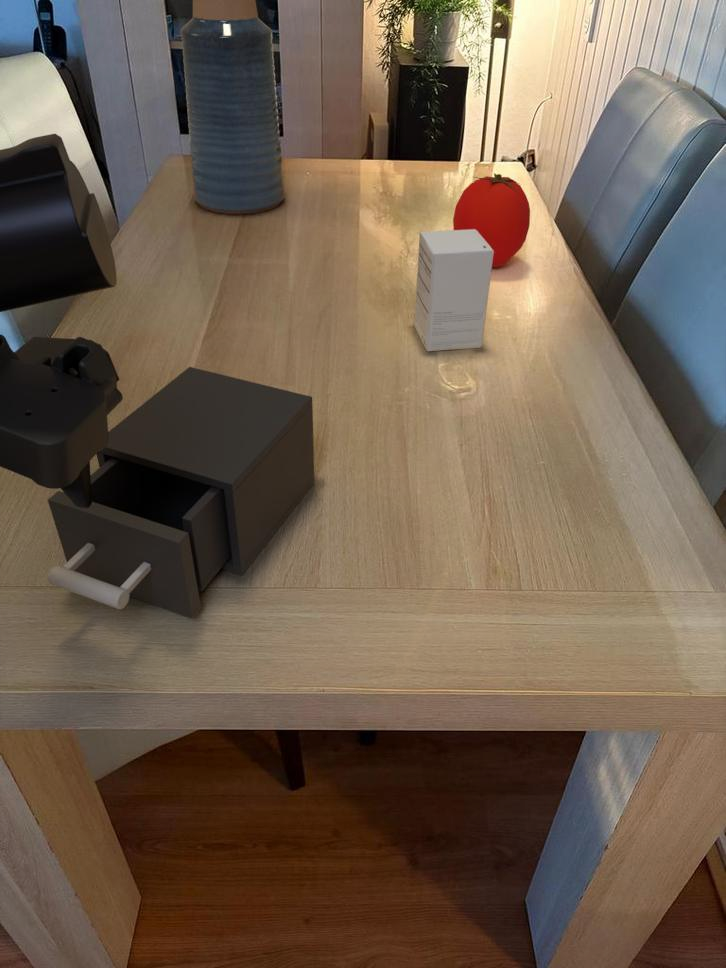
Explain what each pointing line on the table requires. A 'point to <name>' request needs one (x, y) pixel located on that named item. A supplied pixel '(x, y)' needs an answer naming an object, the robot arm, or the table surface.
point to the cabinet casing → (227, 449)
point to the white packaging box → (452, 289)
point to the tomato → (495, 215)
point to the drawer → (142, 538)
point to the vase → (232, 108)
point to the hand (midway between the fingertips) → (40, 556)
